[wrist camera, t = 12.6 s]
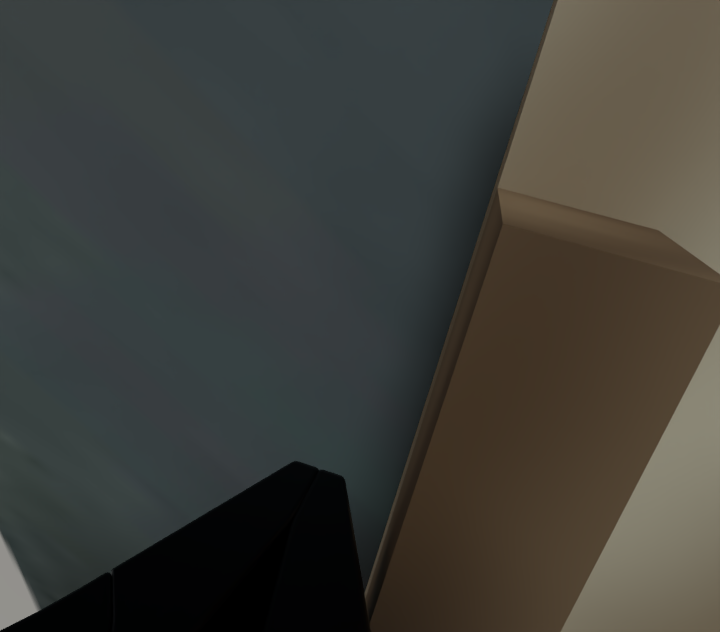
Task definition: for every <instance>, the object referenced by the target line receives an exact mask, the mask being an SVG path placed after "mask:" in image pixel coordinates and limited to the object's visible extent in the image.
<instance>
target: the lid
mask: <svg viewBox="0 0 720 632" xmlns="http://www.w3.org/2000/svg"><path fill="white" fill-rule="evenodd" d="M364 594H365V600H366V606H367V612H368V618H369V624H370V630H371V632H720V0H554V1H553V4H552V7H551V10H550V14H549V17H548V20H547V23H546V26H545V29H544V32H543V36H542V39H541V42H540V45H539V48H538V51H537V54H536V57H535V61H534V64H533V67H532V70H531V73H530V76H529V79H528V83H527V86H526V89H525V92H524V95H523V98H522V101H521V104H520V108H519V111H518V114H517V117H516V120H515V123H514V126H513V130H512V133H511V136H510V139H509V142H508V145H507V148H506V152H505V155H504V158H503V161H502V164H501V167H500V170H499V173H498V177H497V180H496V183H495V186H494V189H493V192H492V195H491V199H490V202H489V205H488V208H487V211H486V214H485V217H484V220H483V224H482V227H481V230H480V233H479V236H478V239H477V242H476V246H475V249H474V252H473V255H472V258H471V261H470V264H469V267H468V271H467V274H466V277H465V280H464V283H463V286H462V289H461V293H460V296H459V299H458V302H457V305H456V308H455V311H454V314H453V318H452V321H451V324H450V327H449V330H448V333H447V336H446V340H445V343H444V346H443V349H442V352H441V355H440V358H439V361H438V365H437V368H436V371H435V374H434V377H433V380H432V383H431V387H430V390H429V393H428V396H427V399H426V402H425V405H424V408H423V412H422V415H421V418H420V421H419V424H418V427H417V430H416V434H415V437H414V440H413V443H412V446H411V449H410V452H409V456H408V459H407V462H406V465H405V468H404V471H403V474H402V477H401V481H400V484H399V487H398V490H397V493H396V496H395V499H394V503H393V506H392V509H391V512H390V515H389V518H388V521H387V524H386V528H385V531H384V534H383V537H382V540H381V543H380V546H379V550H378V553H377V556H376V559H375V562H374V565H373V568H372V571H371V575H370V578H369V581H368V584H367V587H366V590H365V593H364Z"/></svg>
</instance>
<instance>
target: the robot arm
mask: <svg viewBox="0 0 720 632" xmlns="http://www.w3.org/2000/svg"><path fill="white" fill-rule="evenodd" d="M0 632H371V630H370V624H369V618H368V612H367V606H366V600H365V594H364V588H363V583H362V577H361V571H360V565H359V559H358V553H357V547H356V541H355V536H354V530H353V524H352V518H351V512H350V506H349V500H348V494H347V489H346V483H345V479H344V478H343V477H342V476H340V475H337V474H334V473H331V472H328V471H325V470H319V469H318V468H316V467H313V466H310V465H307V464H304V463H301V462H298V461H294V462H291V463H290V464H288V465H286V466H285V467H283V468H281V469H280V470H278V471H276V472H275V473H273V474H271V475H270V476H268V477H266V478H265V479H263V480H261V481H260V482H258V483H256V484H254V485H253V486H251V487H249V488H248V489H246V490H244V491H243V492H241V493H239V494H238V495H236V496H234V497H233V498H231V499H229V500H228V501H226V502H224V503H223V504H221V505H219V506H218V507H216V508H214V509H212V510H211V511H209V512H207V513H206V514H204V515H202V516H201V517H199V518H197V519H196V520H194V521H192V522H191V523H189V524H187V525H186V526H184V527H182V528H181V529H179V530H177V531H176V532H174V533H172V534H170V535H169V536H167V537H165V538H164V539H162V540H160V541H159V542H157V543H155V544H154V545H152V546H150V547H149V548H147V549H145V550H144V551H142V552H140V553H139V554H137V555H135V556H134V557H132V558H130V559H128V560H127V561H125V562H123V563H122V564H120V565H118V566H117V567H115V568H113V569H112V571H111V574H110V573H108V572H107V573H104V574H103V575H101V576H99V577H98V578H96V579H94V580H93V581H91V582H89V583H88V584H86V585H84V586H83V587H81V588H79V589H77V590H76V591H74V592H72V593H70V594H69V595H67V596H65V597H63V598H61V599H60V600H58V601H56V602H54V603H52V604H51V605H49V606H47V607H45V608H44V609H42V610H40V611H38V612H36V613H34V614H32V615H30V616H28V617H26V618H25V619H22V620H21V621H19V622H16V623H15V624H13V625H11V626H9V627H7V628H5V629H3V630H1V631H0Z"/></svg>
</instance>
